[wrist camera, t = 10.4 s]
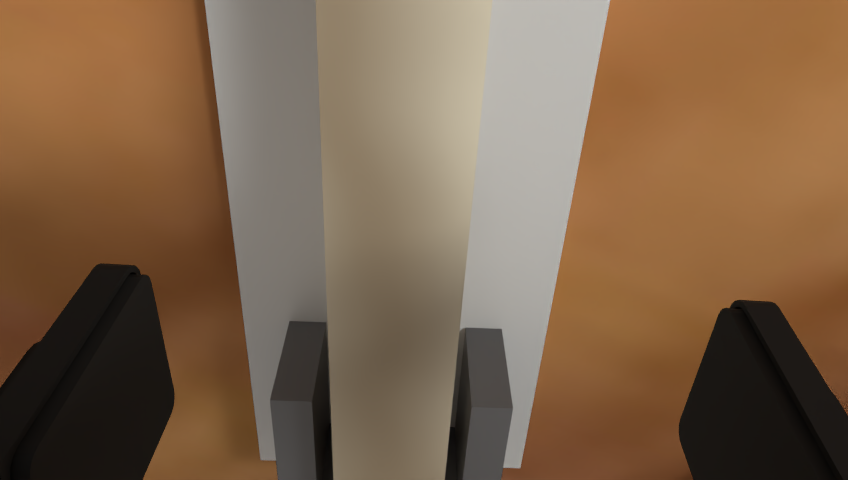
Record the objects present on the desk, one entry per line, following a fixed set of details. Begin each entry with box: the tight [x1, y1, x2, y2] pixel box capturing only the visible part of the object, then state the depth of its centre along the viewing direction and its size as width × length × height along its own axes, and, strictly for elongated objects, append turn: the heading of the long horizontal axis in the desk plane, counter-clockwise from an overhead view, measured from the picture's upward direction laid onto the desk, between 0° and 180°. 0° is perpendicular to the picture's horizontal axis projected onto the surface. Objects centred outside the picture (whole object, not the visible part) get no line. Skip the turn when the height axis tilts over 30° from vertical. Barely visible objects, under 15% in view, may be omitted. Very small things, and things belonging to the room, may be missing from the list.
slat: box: [316, 0, 492, 480], centre depth 17 cm, size 3×22×6 cm, turn 177°
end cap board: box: [205, 0, 610, 480], centre depth 18 cm, size 10×28×4 cm, turn 177°
